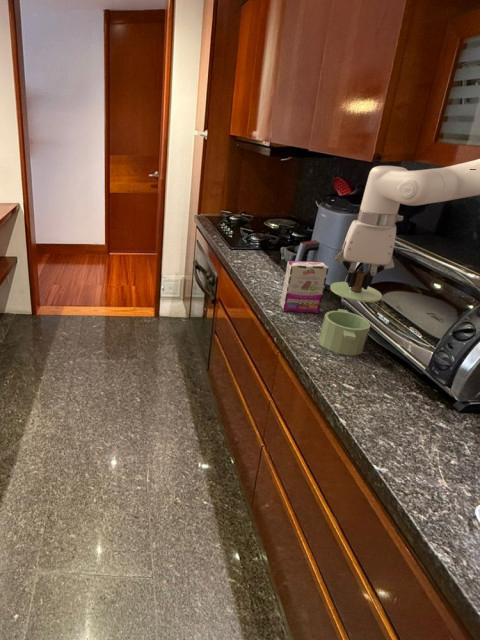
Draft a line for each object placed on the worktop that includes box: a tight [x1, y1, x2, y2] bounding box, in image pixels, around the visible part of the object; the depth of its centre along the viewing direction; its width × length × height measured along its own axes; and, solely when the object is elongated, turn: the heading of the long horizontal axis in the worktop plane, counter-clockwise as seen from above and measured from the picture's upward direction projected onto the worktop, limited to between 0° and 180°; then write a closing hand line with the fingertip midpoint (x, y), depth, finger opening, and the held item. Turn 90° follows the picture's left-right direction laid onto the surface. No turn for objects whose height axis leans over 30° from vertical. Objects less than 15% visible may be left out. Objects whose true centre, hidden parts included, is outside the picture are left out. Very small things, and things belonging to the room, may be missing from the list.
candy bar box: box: [279, 260, 329, 314], centre depth 127 cm, size 11×5×16 cm, turn 81°
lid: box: [329, 270, 383, 303], centre depth 101 cm, size 12×12×6 cm
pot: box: [318, 308, 372, 356], centre depth 107 cm, size 11×16×8 cm, turn 156°
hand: (357, 285), depth 102 cm, fingers closed on lid, 2 cm apart
